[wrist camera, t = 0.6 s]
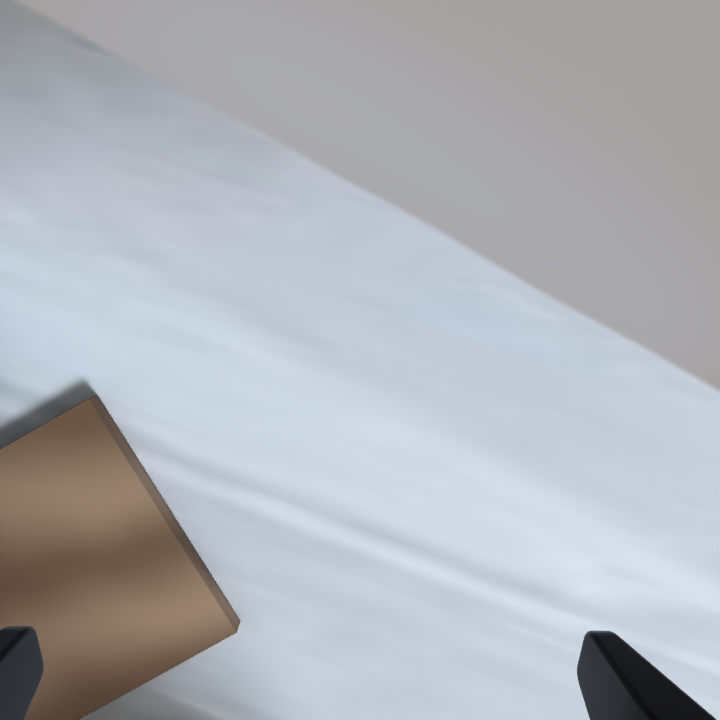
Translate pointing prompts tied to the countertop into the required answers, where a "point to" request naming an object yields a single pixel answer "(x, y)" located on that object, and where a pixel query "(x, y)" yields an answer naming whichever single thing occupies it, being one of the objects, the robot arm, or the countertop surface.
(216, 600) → the walnut board
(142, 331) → the countertop surface
